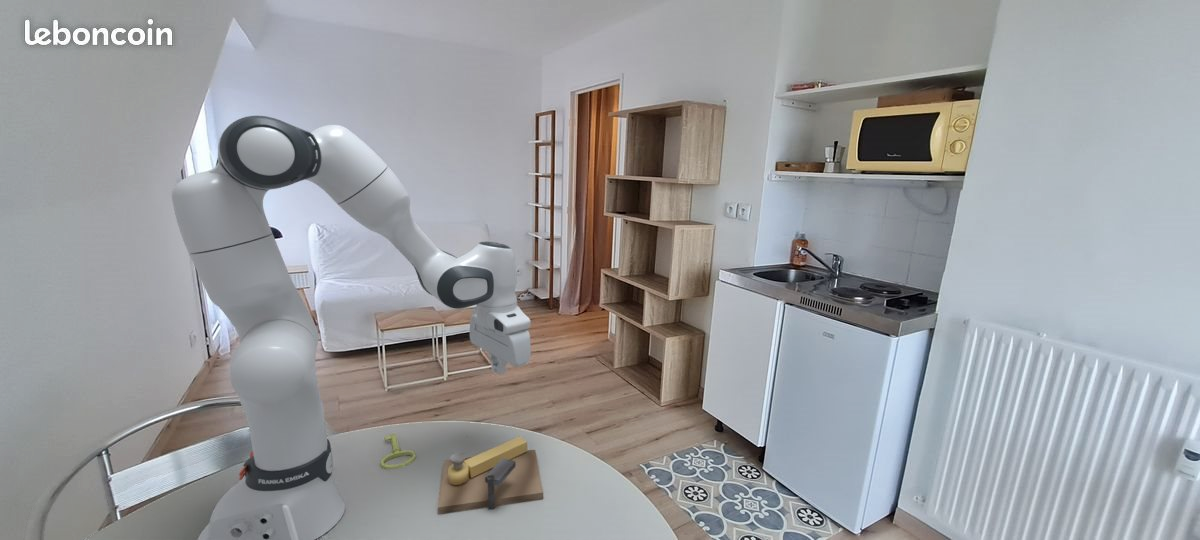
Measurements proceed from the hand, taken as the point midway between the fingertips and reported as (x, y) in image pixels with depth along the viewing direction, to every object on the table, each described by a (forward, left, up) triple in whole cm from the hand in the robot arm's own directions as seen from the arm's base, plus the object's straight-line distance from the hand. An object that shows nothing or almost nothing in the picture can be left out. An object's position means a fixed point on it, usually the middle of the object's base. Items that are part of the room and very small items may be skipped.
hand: (498, 372), depth 108 cm
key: (-23, +2, -20) cm, 31 cm away
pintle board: (-2, -13, -19) cm, 23 cm away
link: (-3, -9, -17) cm, 20 cm away
